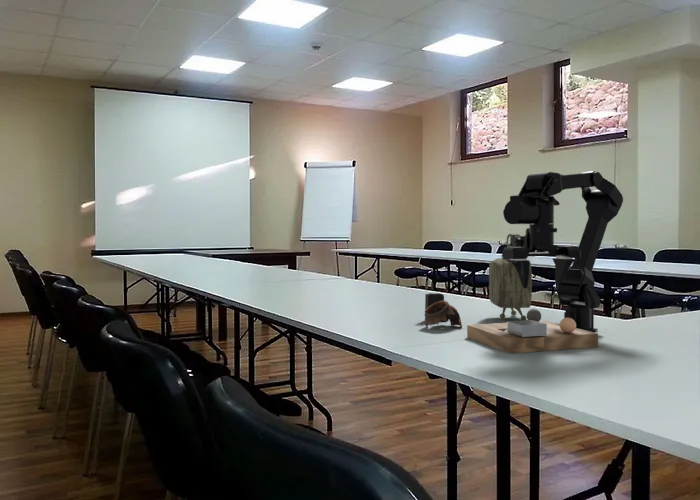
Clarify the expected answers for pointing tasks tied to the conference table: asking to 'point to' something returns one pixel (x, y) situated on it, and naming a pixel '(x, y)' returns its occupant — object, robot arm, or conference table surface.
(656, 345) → the conference table surface
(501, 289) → the tabletop clock
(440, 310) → the brown arched legged figurine
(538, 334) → the brushed grey metal box
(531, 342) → the walnut deck
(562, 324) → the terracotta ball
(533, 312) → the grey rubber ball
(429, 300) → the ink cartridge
